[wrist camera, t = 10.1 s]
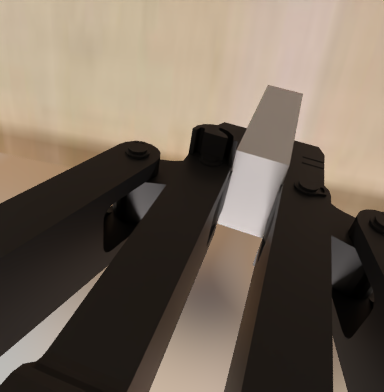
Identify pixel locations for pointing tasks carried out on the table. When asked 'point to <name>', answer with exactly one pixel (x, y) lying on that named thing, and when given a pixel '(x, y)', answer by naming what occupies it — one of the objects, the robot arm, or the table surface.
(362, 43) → the table surface
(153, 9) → the table surface
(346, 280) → the robot arm
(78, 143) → the table surface
